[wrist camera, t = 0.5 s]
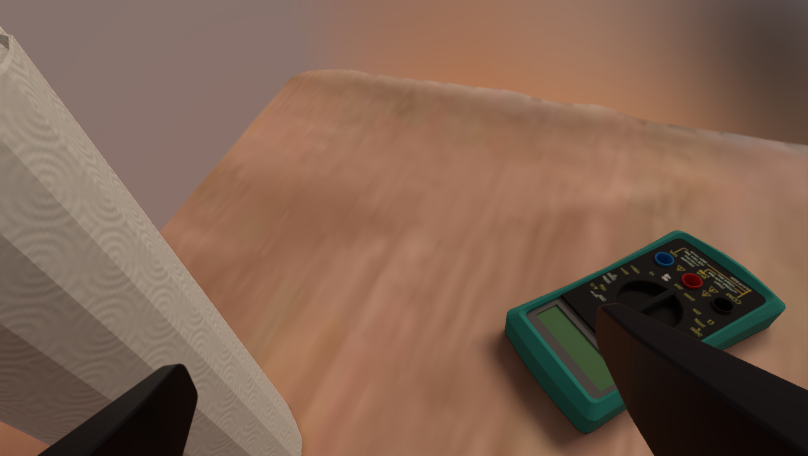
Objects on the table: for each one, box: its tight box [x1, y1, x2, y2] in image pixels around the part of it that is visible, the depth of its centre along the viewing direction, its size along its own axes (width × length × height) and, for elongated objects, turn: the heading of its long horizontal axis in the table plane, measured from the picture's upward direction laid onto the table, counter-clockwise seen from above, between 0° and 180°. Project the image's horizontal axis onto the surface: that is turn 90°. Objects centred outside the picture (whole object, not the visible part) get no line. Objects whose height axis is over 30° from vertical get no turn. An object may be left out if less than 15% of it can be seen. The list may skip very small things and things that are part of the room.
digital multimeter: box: [505, 230, 786, 433], centre depth 25 cm, size 7×15×3 cm, turn 115°
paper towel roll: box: [0, 26, 302, 456], centre depth 15 cm, size 7×6×21 cm
